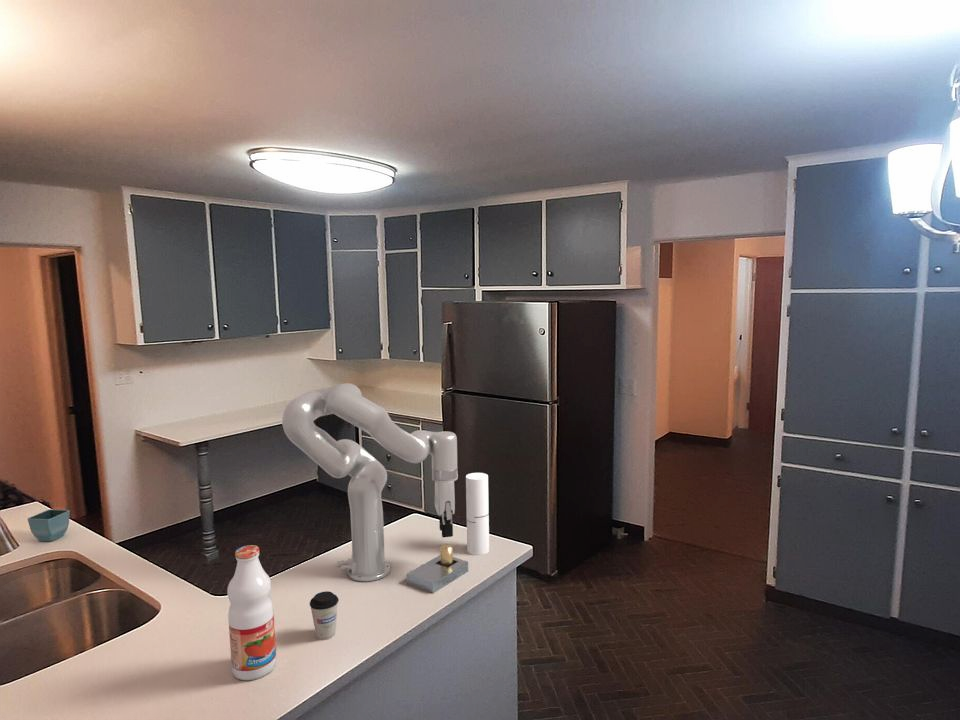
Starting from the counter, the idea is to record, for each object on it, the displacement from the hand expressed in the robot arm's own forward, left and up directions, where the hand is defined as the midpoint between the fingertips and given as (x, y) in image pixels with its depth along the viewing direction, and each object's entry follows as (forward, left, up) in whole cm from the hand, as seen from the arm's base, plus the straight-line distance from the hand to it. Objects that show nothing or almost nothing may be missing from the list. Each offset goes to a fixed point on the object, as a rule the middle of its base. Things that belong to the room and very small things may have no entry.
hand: (446, 532), depth 175 cm
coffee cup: (-34, -26, -13) cm, 44 cm away
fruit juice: (-49, -36, -13) cm, 62 cm away
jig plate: (-3, -3, -12) cm, 13 cm away
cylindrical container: (+12, +12, -13) cm, 21 cm away
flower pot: (-132, +56, -13) cm, 144 cm away
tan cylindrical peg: (0, 0, -12) cm, 12 cm away
